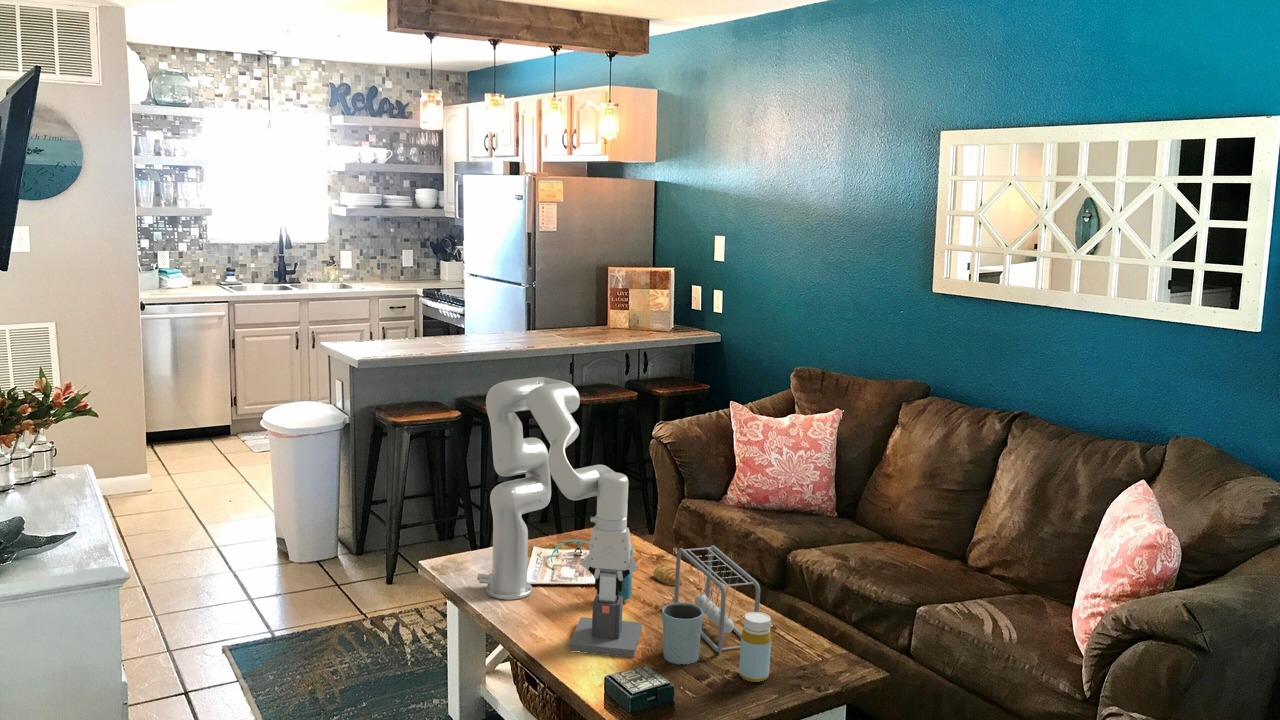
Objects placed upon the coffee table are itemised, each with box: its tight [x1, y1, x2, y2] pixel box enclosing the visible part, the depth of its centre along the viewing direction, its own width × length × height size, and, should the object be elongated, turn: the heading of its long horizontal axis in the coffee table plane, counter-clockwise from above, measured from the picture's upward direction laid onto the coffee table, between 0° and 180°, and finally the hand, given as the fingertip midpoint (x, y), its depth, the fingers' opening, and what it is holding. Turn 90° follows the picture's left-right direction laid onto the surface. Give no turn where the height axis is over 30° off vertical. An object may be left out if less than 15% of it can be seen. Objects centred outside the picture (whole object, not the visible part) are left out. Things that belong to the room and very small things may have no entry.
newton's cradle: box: [673, 544, 761, 653], centre depth 273 cm, size 30×10×18 cm, turn 20°
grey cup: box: [661, 602, 704, 666], centre depth 256 cm, size 10×10×12 cm
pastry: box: [653, 563, 684, 587], centre depth 305 cm, size 9×7×4 cm
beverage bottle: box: [619, 545, 634, 601], centre depth 287 cm, size 6×7×20 cm
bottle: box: [738, 611, 772, 683], centre depth 247 cm, size 7×7×15 cm
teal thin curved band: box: [550, 539, 590, 564], centre depth 315 cm, size 14×15×5 cm
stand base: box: [569, 593, 643, 658], centre depth 263 cm, size 16×16×11 cm
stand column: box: [599, 569, 618, 604], centre depth 262 cm, size 4×4×15 cm
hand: (608, 592), depth 262 cm, fingers closed on stand column, 4 cm apart
